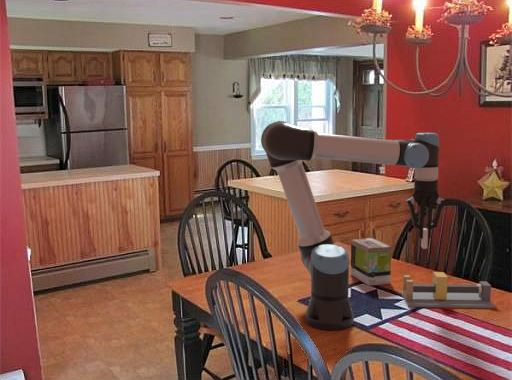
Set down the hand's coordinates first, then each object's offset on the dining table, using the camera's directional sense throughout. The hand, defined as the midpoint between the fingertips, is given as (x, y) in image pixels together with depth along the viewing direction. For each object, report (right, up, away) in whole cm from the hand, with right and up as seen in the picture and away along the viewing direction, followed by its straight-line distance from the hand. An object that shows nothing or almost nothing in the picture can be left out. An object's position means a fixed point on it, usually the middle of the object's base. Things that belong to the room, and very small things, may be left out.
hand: (424, 247), depth 183 cm
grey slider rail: (+8, -19, +2) cm, 21 cm away
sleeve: (+6, -17, +2) cm, 18 cm away
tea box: (-13, -15, +27) cm, 34 cm away
